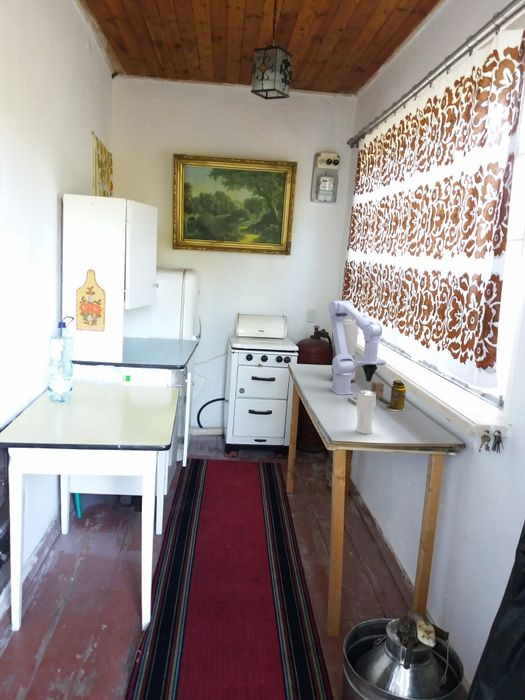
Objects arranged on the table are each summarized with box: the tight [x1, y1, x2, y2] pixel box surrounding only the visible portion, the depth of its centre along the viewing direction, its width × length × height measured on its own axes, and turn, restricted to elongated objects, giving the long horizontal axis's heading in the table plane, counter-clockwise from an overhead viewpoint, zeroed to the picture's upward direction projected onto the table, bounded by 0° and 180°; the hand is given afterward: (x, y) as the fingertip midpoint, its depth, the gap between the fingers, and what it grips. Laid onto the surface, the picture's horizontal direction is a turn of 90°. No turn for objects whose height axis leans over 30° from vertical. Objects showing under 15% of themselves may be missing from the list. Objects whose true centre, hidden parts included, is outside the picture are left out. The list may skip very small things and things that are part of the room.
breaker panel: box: [347, 395, 358, 407], centre depth 234 cm, size 10×8×2 cm
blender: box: [330, 318, 359, 382], centre depth 271 cm, size 16×12×32 cm
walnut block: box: [370, 381, 385, 400], centre depth 244 cm, size 4×4×7 cm
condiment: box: [382, 379, 407, 412], centre depth 228 cm, size 7×8×12 cm
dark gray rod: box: [378, 397, 390, 405], centre depth 238 cm, size 9×1×1 cm, turn 16°
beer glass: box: [355, 390, 377, 435], centre depth 195 cm, size 7×7×15 cm
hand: (368, 381), depth 233 cm, fingers closed
